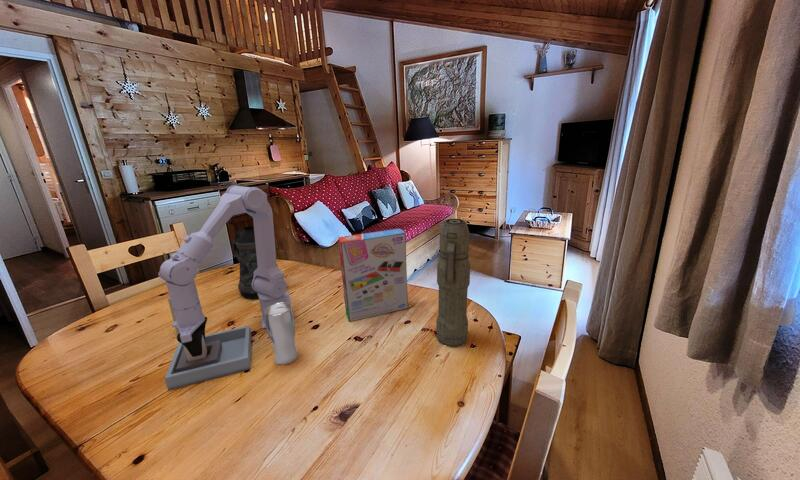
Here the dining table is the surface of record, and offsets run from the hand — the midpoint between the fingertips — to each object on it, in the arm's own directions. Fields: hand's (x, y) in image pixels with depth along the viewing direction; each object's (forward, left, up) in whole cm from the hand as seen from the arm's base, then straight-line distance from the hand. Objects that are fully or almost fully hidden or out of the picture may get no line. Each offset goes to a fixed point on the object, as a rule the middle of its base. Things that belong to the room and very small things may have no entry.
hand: (198, 350), depth 86 cm
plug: (0, 0, -2) cm, 2 cm away
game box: (-51, -5, -4) cm, 51 cm away
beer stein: (-14, -40, -4) cm, 43 cm away
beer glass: (-21, +7, -4) cm, 23 cm away
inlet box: (-3, 0, -4) cm, 5 cm away
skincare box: (+6, -20, -4) cm, 21 cm away
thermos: (-66, +18, -4) cm, 69 cm away
